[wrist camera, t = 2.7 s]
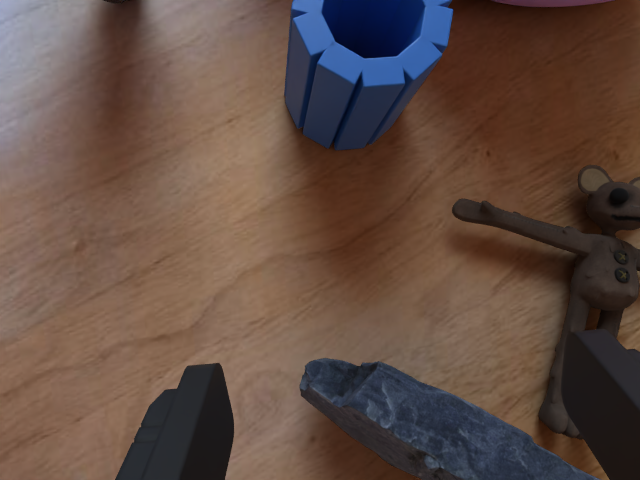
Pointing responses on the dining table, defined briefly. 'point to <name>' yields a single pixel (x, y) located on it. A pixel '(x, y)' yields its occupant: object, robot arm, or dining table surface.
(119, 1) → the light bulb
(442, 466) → the stone
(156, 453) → the robot arm
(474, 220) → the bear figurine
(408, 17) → the blue notched tube
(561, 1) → the teapot
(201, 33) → the dining table surface
